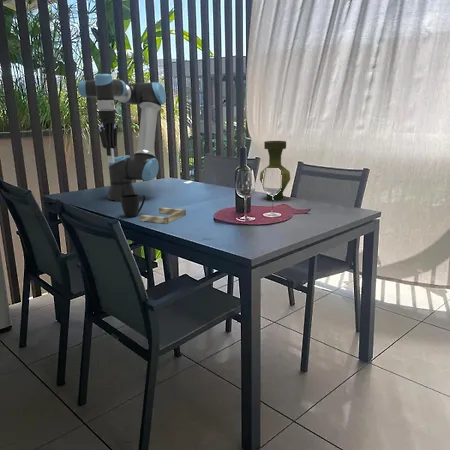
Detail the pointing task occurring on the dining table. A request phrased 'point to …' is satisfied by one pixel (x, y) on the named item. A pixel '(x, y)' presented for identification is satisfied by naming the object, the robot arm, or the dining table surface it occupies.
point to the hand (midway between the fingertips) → (111, 162)
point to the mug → (131, 204)
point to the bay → (174, 215)
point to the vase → (276, 164)
